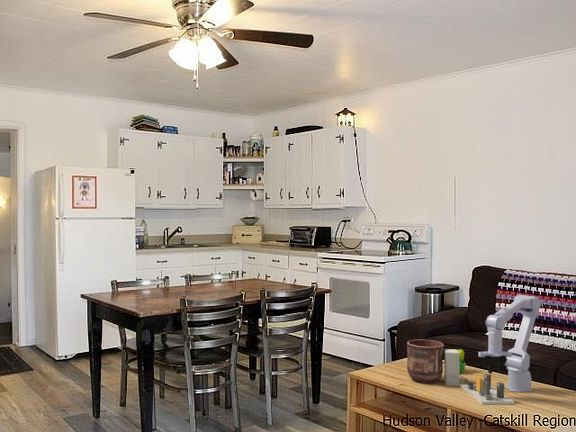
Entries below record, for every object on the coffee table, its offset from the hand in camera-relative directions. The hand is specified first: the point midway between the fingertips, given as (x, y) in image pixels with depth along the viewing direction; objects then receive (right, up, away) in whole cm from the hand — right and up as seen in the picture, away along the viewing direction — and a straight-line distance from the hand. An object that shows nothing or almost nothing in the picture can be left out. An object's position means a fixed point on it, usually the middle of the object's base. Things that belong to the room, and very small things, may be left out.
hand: (494, 373), depth 241 cm
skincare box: (-14, -10, +17) cm, 24 cm away
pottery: (-26, -10, +22) cm, 35 cm away
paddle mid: (-7, -8, 0) cm, 11 cm away
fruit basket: (-6, -11, +39) cm, 40 cm away
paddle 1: (-7, -8, +7) cm, 13 cm away
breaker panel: (-4, -10, 0) cm, 11 cm away
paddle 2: (-7, -8, -7) cm, 13 cm away
